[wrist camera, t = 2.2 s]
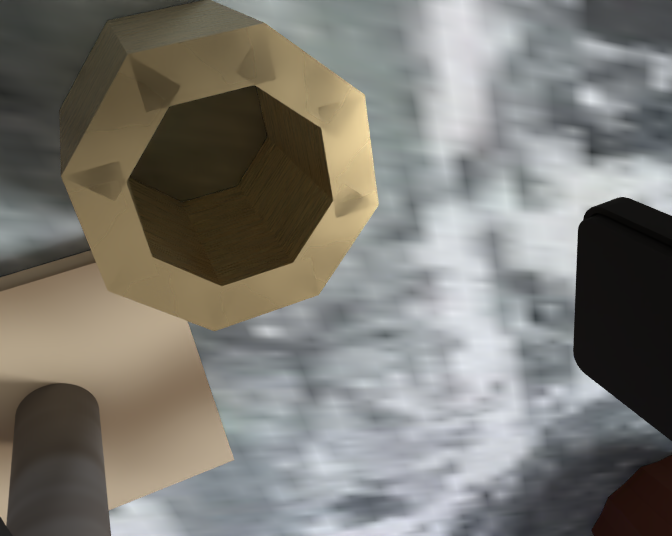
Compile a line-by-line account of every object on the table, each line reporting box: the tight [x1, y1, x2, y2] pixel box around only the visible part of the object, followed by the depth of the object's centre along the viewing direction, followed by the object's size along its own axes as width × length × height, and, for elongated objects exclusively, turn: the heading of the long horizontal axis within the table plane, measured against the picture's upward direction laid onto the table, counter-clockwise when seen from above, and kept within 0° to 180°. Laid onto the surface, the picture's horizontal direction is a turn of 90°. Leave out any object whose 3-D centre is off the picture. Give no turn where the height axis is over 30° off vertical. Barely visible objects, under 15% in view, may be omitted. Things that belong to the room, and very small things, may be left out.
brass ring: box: [59, 0, 379, 331], centre depth 17 cm, size 7×7×6 cm
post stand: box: [0, 250, 234, 536], centre depth 19 cm, size 10×10×8 cm
